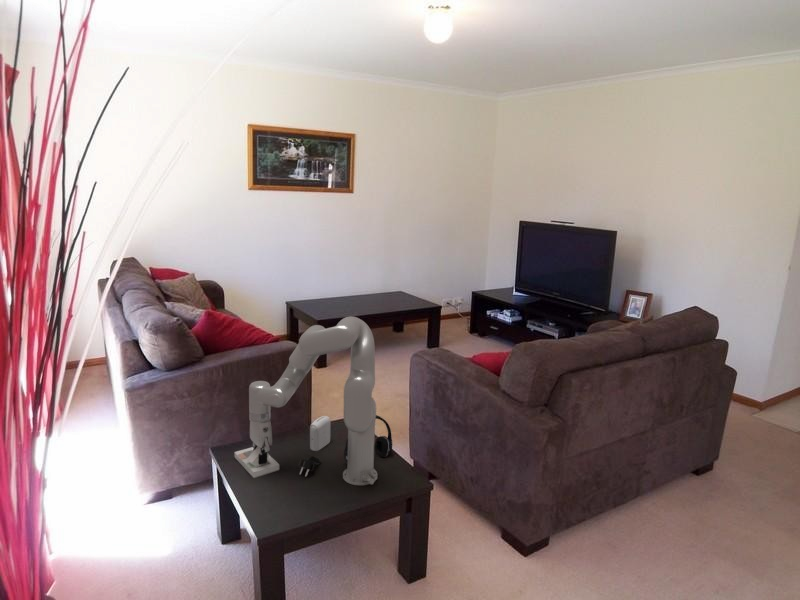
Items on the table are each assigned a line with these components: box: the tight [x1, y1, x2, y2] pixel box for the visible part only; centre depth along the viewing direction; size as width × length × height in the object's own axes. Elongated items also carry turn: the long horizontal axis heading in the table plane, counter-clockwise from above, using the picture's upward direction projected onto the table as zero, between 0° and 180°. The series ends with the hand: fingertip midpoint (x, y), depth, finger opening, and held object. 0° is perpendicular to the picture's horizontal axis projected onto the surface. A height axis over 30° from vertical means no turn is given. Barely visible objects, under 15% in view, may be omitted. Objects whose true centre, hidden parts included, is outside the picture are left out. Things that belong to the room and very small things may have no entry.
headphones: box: [343, 414, 393, 464], centre depth 209 cm, size 20×7×18 cm, turn 126°
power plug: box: [297, 454, 323, 477], centre depth 201 cm, size 6×8×12 cm
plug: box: [247, 446, 271, 468], centre depth 201 cm, size 4×4×7 cm
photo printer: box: [309, 415, 331, 452], centre depth 219 cm, size 10×4×12 cm, turn 152°
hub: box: [234, 446, 280, 479], centre depth 205 cm, size 18×10×3 cm, turn 38°
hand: (260, 460), depth 201 cm, fingers closed on plug, 4 cm apart
